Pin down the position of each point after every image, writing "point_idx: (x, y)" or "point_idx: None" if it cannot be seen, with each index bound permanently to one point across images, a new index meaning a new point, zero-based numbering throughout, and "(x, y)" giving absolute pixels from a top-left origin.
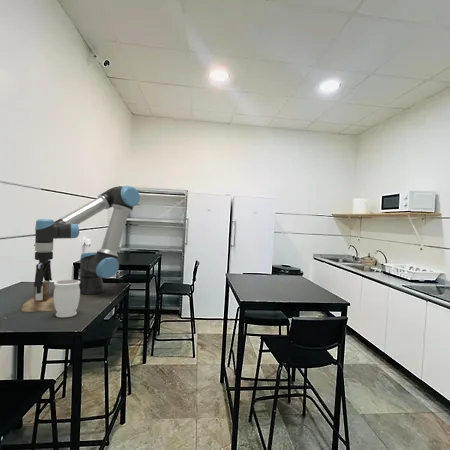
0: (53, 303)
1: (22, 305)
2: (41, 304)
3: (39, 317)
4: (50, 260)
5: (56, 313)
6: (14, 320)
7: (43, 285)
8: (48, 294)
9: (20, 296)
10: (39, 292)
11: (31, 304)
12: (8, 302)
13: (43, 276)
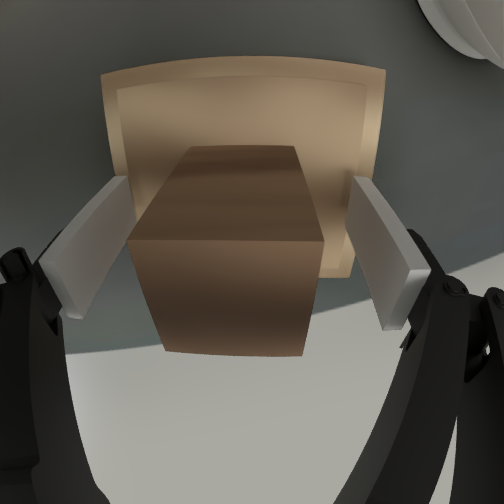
0: (355, 72)
1: (349, 274)
2: (366, 164)
3: (471, 140)
4: None
5: (482, 55)
6: (464, 241)
7: (315, 273)
8: (203, 162)
9: (64, 316)
10: (419, 241)
11: (345, 232)
12: (152, 335)
13: (425, 421)
